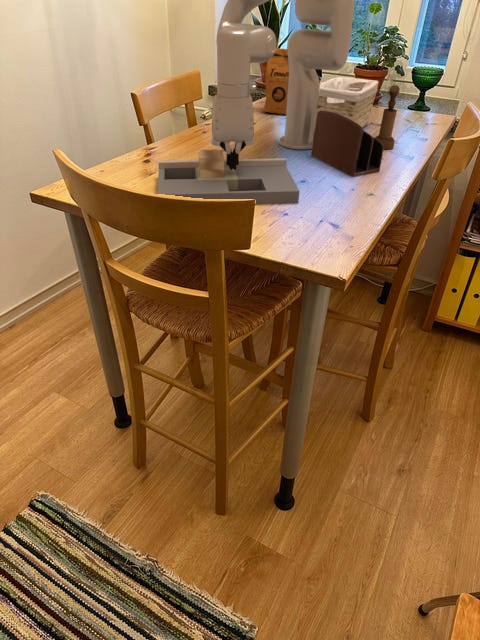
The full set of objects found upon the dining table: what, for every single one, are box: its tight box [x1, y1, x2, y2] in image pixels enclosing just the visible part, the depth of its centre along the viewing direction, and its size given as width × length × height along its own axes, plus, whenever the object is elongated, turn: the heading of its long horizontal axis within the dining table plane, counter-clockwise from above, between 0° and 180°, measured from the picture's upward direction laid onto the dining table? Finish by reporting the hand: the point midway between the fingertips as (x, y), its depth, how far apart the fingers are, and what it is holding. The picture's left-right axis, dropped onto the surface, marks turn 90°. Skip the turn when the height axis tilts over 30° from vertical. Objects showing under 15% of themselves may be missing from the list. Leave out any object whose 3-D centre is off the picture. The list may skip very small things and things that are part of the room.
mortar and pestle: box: [374, 84, 401, 151], centre depth 144 cm, size 7×6×18 cm
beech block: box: [198, 149, 225, 178], centre depth 118 cm, size 6×6×5 cm
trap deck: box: [156, 157, 300, 205], centre depth 118 cm, size 34×19×4 cm, turn 97°
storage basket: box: [315, 75, 379, 129], centre depth 161 cm, size 24×16×15 cm
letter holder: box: [310, 111, 384, 178], centre depth 132 cm, size 10×20×14 cm, turn 29°
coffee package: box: [263, 47, 289, 116], centre depth 174 cm, size 10×12×22 cm
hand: (232, 167), depth 120 cm, fingers closed
